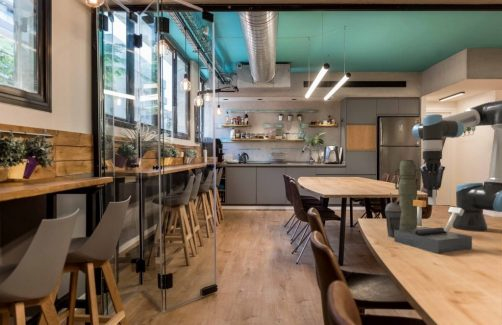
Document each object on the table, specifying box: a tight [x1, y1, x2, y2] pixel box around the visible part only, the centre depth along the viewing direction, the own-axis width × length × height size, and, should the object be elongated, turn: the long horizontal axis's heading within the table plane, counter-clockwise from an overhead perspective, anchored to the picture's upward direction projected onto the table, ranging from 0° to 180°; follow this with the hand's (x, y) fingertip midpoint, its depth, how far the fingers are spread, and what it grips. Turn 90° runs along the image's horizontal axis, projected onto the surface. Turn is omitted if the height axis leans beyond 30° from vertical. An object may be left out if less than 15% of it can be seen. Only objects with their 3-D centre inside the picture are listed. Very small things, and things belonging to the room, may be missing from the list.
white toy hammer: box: [444, 206, 464, 233], centre depth 141 cm, size 2×5×11 cm
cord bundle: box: [414, 227, 445, 235], centre depth 145 cm, size 15×3×2 cm, turn 112°
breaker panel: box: [393, 226, 473, 255], centre depth 145 cm, size 18×22×5 cm
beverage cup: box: [384, 192, 402, 238], centre depth 162 cm, size 7×7×20 cm
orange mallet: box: [413, 199, 427, 227], centre depth 151 cm, size 2×5×11 cm, turn 22°
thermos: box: [394, 159, 422, 229], centre depth 180 cm, size 9×12×35 cm
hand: (432, 204), depth 154 cm, fingers closed
